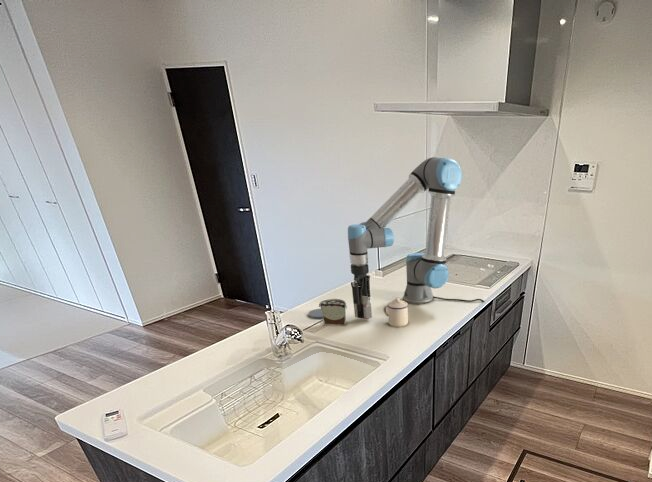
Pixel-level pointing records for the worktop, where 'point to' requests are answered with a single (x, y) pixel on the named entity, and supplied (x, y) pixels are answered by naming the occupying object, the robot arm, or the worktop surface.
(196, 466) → the worktop surface
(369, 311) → the tea bag
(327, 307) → the food container
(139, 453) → the worktop surface
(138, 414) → the worktop surface
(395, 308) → the teacup with lid
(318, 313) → the saucer
